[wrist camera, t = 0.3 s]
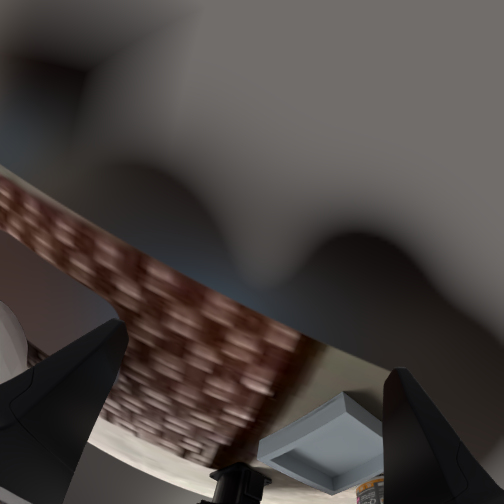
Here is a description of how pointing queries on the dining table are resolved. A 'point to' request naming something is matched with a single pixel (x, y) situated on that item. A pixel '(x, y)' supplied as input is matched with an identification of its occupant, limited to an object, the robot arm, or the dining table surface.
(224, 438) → the dining table surface
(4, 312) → the pitcher
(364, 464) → the tray
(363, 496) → the pill bottle
